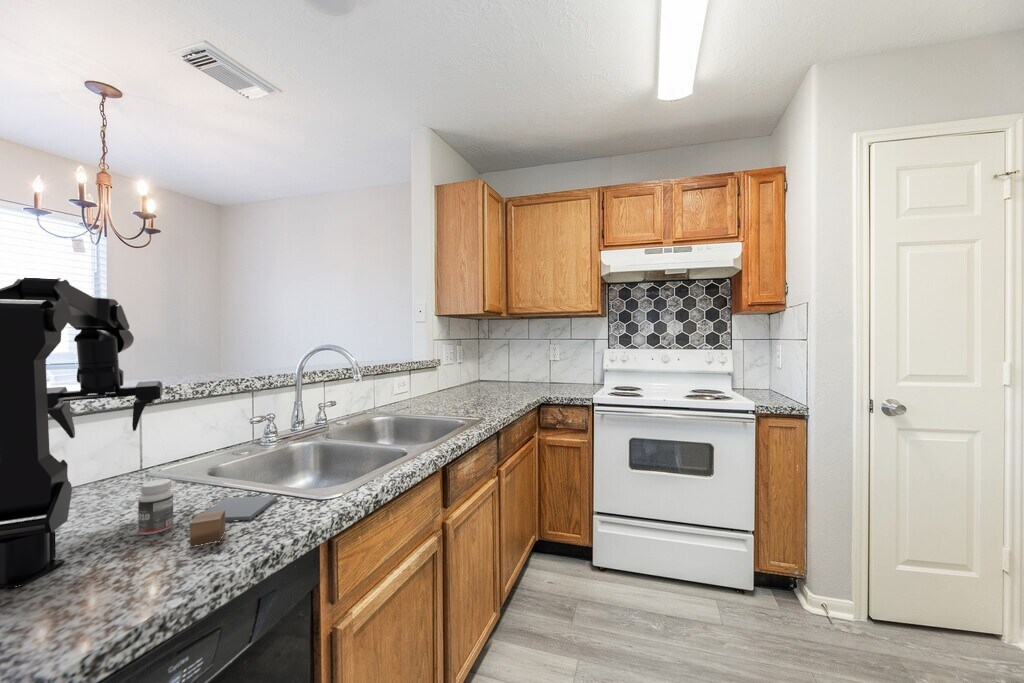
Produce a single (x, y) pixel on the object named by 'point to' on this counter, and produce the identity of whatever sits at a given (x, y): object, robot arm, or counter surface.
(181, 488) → the counter surface
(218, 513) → the walnut block
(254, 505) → the coaster
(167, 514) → the pill bottle
